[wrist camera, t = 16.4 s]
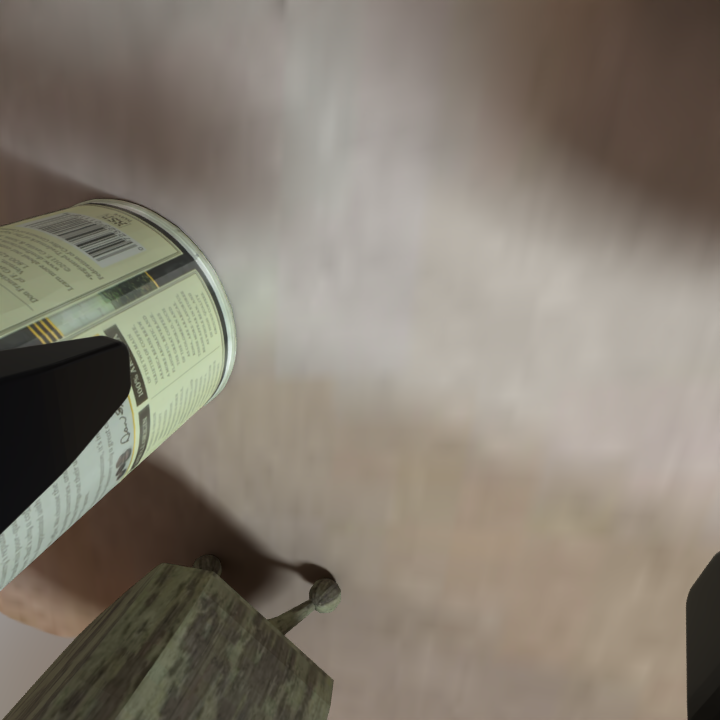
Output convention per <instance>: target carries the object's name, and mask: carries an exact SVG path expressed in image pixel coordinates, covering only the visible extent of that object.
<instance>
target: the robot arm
mask: <svg viewBox="0 0 720 720" xmlns="http://www.w3.org/2000/svg"><path fill="white" fill-rule="evenodd" d="M130 390H131V370H130V353H129V349H128V346H127V345H126V344H125V343H124V342H122V341H119V340H116V339H113V338H111V337H108V336H102V335H101V336H93V337H87V338H80V339H74V340H67V341H61V342H54V343H47V344H41V345H34V346H28V347H21V348H15V349H8V350H1V351H0V535H1V534H2V533H3V532H4V531H5V530H6V529H7V528H8V527H9V526H10V525H11V524H12V523H13V522H14V521H15V520H16V519H17V518H18V517H19V516H20V515H21V514H22V513H23V512H24V511H25V510H26V509H27V508H28V507H29V506H30V505H31V504H32V503H33V502H34V501H35V500H36V499H37V498H39V497H40V496H41V495H42V494H43V493H44V492H45V491H46V490H47V489H48V488H49V487H50V486H51V485H52V484H53V483H54V482H55V481H56V480H57V479H58V478H59V477H60V476H61V475H62V474H63V473H64V472H65V471H66V470H67V469H68V468H69V466H70V465H71V464H72V463H73V462H74V461H75V460H76V459H77V457H78V456H79V455H80V454H81V453H82V452H83V450H84V449H85V448H86V447H87V446H88V444H89V443H90V442H91V441H92V440H93V438H94V437H95V436H96V435H97V434H98V432H99V431H100V430H101V429H102V428H103V426H104V425H105V424H106V423H107V422H108V421H109V419H110V418H111V417H112V416H113V415H114V413H115V412H116V411H117V410H118V409H119V407H120V406H121V405H122V404H123V403H124V401H125V400H126V399H127V397H128V395H129V393H130ZM686 658H687V716H688V720H720V551H719V552H718V553H716V555H715V556H714V557H713V558H712V559H711V561H710V562H709V564H708V565H707V566H706V568H705V569H704V571H703V572H702V573H701V575H700V576H699V578H698V579H697V580H696V582H695V583H694V584H693V586H692V587H691V589H690V591H689V594H688V597H687V602H686Z"/></svg>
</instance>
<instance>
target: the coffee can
mask: <svg viewBox="0 0 720 720" xmlns="http://www.w3.org/2000/svg"><path fill="white" fill-rule="evenodd" d="M101 335H102V336H108V337H111V338H113V339H116V340H119V341H122V342H124V343H125V344H126V345H127V346H128V349H129V353H130V370H131V390H130V393H129V395H128V397H127V399H126V400H125V401H124V403H123V404H122V405H121V406H120V407H119V409H118V410H117V411H116V412H115V413H114V415H113V416H112V417H111V418H110V419H109V421H108V422H107V423H106V424H105V425H104V426H103V428H102V429H101V430H100V431H99V432H98V434H97V435H96V436H95V437H94V438H93V440H92V441H91V442H90V443H89V444H88V446H87V447H86V448H85V449H84V450H83V452H82V453H81V454H80V455H79V456H78V457H77V459H76V460H75V461H74V462H73V463H72V464H71V465H70V466H69V468H68V469H67V470H66V471H65V472H64V473H63V474H62V475H61V476H60V477H59V478H58V479H57V480H56V481H55V482H54V483H53V484H52V485H51V486H50V487H49V488H48V489H47V490H46V491H45V492H44V493H43V494H42V495H41V496H40V497H39V498H37V499H36V500H35V501H34V502H33V503H32V504H31V505H30V506H29V507H28V508H27V509H26V510H25V511H24V512H23V513H22V514H21V515H20V516H19V517H18V518H17V519H16V520H15V521H14V522H13V523H12V524H11V525H10V526H9V527H8V528H7V529H6V530H5V531H4V532H3V533H2V534H1V535H0V591H1V590H2V589H3V588H4V587H5V586H6V585H7V584H8V583H9V582H11V581H12V580H13V579H14V578H15V577H16V576H17V575H18V574H19V573H20V572H22V571H23V570H24V569H25V568H26V567H27V566H28V565H29V564H30V563H31V562H33V561H34V560H35V559H36V558H37V557H38V556H39V555H40V554H41V553H42V552H44V551H45V550H46V549H47V548H48V547H49V546H50V545H51V544H52V543H53V542H54V541H56V540H57V539H58V538H59V537H60V536H61V535H62V534H63V533H64V532H65V531H66V530H68V529H69V528H70V527H71V526H72V525H73V524H74V523H75V522H76V521H77V520H78V519H80V518H81V517H82V516H83V515H84V514H85V513H86V512H87V511H88V510H89V509H91V508H92V507H93V506H94V505H95V504H96V503H97V502H98V501H99V500H100V499H102V498H103V497H104V496H105V495H106V494H107V493H108V492H109V491H110V490H111V489H112V488H113V487H115V486H116V485H117V484H118V483H120V482H121V481H122V480H123V479H124V478H125V477H126V476H127V475H128V474H129V473H130V472H131V471H132V470H133V469H134V468H136V467H137V466H138V465H139V464H140V463H141V462H142V461H143V460H144V459H145V458H147V457H148V456H149V455H150V454H151V453H152V452H153V451H154V450H155V449H156V448H158V447H159V446H160V445H161V444H162V443H163V442H164V441H165V440H166V439H167V438H168V437H170V436H171V435H172V434H173V433H174V432H175V431H176V430H177V429H178V428H179V427H180V426H182V425H183V424H184V423H185V422H186V421H187V420H188V419H189V418H190V417H191V416H192V415H193V414H195V413H196V412H197V411H198V410H199V409H200V408H201V407H203V406H204V405H206V404H208V403H209V402H210V401H211V400H213V399H214V398H215V397H216V396H217V395H218V394H219V393H220V392H221V391H222V390H223V389H224V387H225V385H226V383H227V381H228V379H229V377H230V374H231V372H232V369H233V366H234V362H235V355H236V329H235V323H234V318H233V312H232V308H231V305H230V303H229V301H228V298H227V296H226V293H225V291H224V288H223V285H222V284H221V282H220V280H219V278H218V276H217V274H216V272H215V270H214V269H213V267H212V266H211V264H210V263H209V261H208V260H207V259H206V257H205V256H204V255H203V253H202V252H201V251H200V250H199V248H198V247H197V246H196V245H195V244H194V243H193V242H192V241H191V240H190V239H189V238H188V237H187V236H186V235H185V234H184V233H183V232H182V231H181V230H180V229H179V228H178V227H176V226H174V225H173V224H172V223H170V222H169V221H167V220H166V219H164V218H162V217H161V216H159V215H158V214H156V213H154V212H152V211H150V210H148V209H146V208H144V207H141V206H139V205H136V204H133V203H130V202H126V201H121V200H115V199H93V200H88V201H85V202H82V203H79V204H76V205H74V206H72V207H70V208H66V209H62V210H58V211H55V212H51V213H47V214H44V215H40V216H36V217H32V218H28V219H25V220H21V221H18V222H14V223H10V224H6V225H2V226H0V351H1V350H8V349H15V348H21V347H28V346H34V345H41V344H47V343H54V342H61V341H67V340H74V339H80V338H87V337H93V336H101Z"/></svg>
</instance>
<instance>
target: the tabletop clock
mask: <svg viewBox="0 0 720 720" xmlns="http://www.w3.org/2000/svg"><path fill="white" fill-rule="evenodd" d="M221 572H222V567H221V564H220V561H219V559H218V558H216V557H214V556H213V555H203V556H201V557H199V558H198V559H197V560H196V561H195V563H194V565H193V567H192V568H191V567H185V566H179V565H174V564H168V563H161V564H160V565H158V566H157V567H156V568H154V569H153V570H152V571H151V572H149V573H148V574H147V575H146V576H145V577H143V578H142V579H141V580H140V581H139V582H137V583H136V584H135V585H134V586H132V587H131V588H130V589H129V590H128V591H126V592H125V593H124V594H123V595H122V596H121V597H120V598H118V599H117V600H116V601H115V602H114V603H113V604H112V605H111V606H109V607H108V608H107V609H106V610H105V611H104V612H103V613H101V614H100V615H99V616H98V617H97V618H96V619H95V620H94V621H93V622H92V623H91V624H90V625H88V626H87V627H86V628H85V629H84V630H83V631H82V632H81V633H80V634H79V635H78V636H77V637H76V638H75V639H74V641H73V642H72V643H71V644H70V645H69V646H68V647H67V648H66V649H65V651H63V653H62V654H61V655H60V656H59V657H58V658H57V659H56V660H55V661H54V662H53V664H52V665H51V666H50V667H49V668H48V669H47V671H45V672H44V674H43V675H42V676H41V677H40V678H39V679H38V680H37V681H36V682H35V684H34V685H33V686H32V687H31V688H30V689H29V690H28V691H27V693H26V694H25V695H24V696H23V697H22V698H21V699H20V700H19V702H18V703H17V704H16V705H15V706H14V707H13V708H12V709H11V711H10V712H9V713H8V714H7V715H6V716H5V717H4V718H3V720H327V717H328V713H329V709H330V705H331V697H332V689H333V682H334V680H333V679H331V678H330V677H329V676H328V675H327V674H326V673H325V672H324V671H323V670H322V669H320V668H319V667H318V666H317V665H316V664H315V663H314V662H313V661H312V660H311V659H309V658H308V657H307V656H306V655H305V654H304V653H303V652H302V651H301V650H300V649H298V648H297V647H296V646H295V645H294V644H293V643H292V642H291V641H290V640H289V639H287V638H286V637H285V636H284V635H285V634H286V633H287V632H288V631H290V630H291V629H292V628H293V627H294V626H296V625H297V624H298V623H299V622H300V621H301V620H303V619H304V618H305V617H306V616H307V615H309V614H310V613H311V612H312V611H313V610H314V609H315V610H316V611H318V612H319V613H330V612H332V611H334V609H335V608H336V607H337V606H338V604H339V603H340V600H341V590H340V588H339V586H338V584H337V583H335V582H334V581H333V580H331V579H320V580H317V581H316V582H315V583H314V585H313V586H312V588H311V589H310V592H309V599H310V600H308V601H306V602H304V603H302V604H300V605H298V606H296V607H295V608H293V609H291V610H289V611H287V612H285V613H283V614H281V615H280V616H278V617H275V618H272V619H268V620H267V619H265V618H264V617H263V616H262V615H261V614H260V613H259V612H258V611H257V610H256V609H254V608H253V607H252V606H251V605H250V604H249V603H248V602H247V601H246V600H244V599H243V598H242V597H241V596H240V595H239V594H238V593H237V592H236V591H235V590H233V589H232V588H231V587H230V586H229V585H228V584H227V583H226V582H225V581H224V580H222V579H221V578H220V577H219V576H220V575H221Z"/></svg>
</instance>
